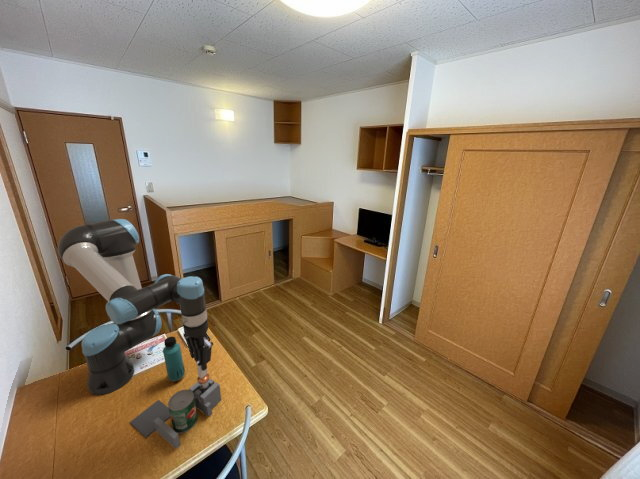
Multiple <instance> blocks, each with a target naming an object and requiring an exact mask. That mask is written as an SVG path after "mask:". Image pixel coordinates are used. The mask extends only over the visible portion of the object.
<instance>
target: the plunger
mask: <svg viewBox="0 0 640 479" xmlns="http://www.w3.org/2000/svg"><path fill="white" fill-rule="evenodd" d="M208 380H210V374H209V373H207V374H206V375H205V376H204V377H202V378H200V377H198V376H197V379H196V381H197V382H198V383H199V384H200V390H201V392H202V394H203V393H204V392H205V391H206V390H207V389H209V382H208Z"/></svg>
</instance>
